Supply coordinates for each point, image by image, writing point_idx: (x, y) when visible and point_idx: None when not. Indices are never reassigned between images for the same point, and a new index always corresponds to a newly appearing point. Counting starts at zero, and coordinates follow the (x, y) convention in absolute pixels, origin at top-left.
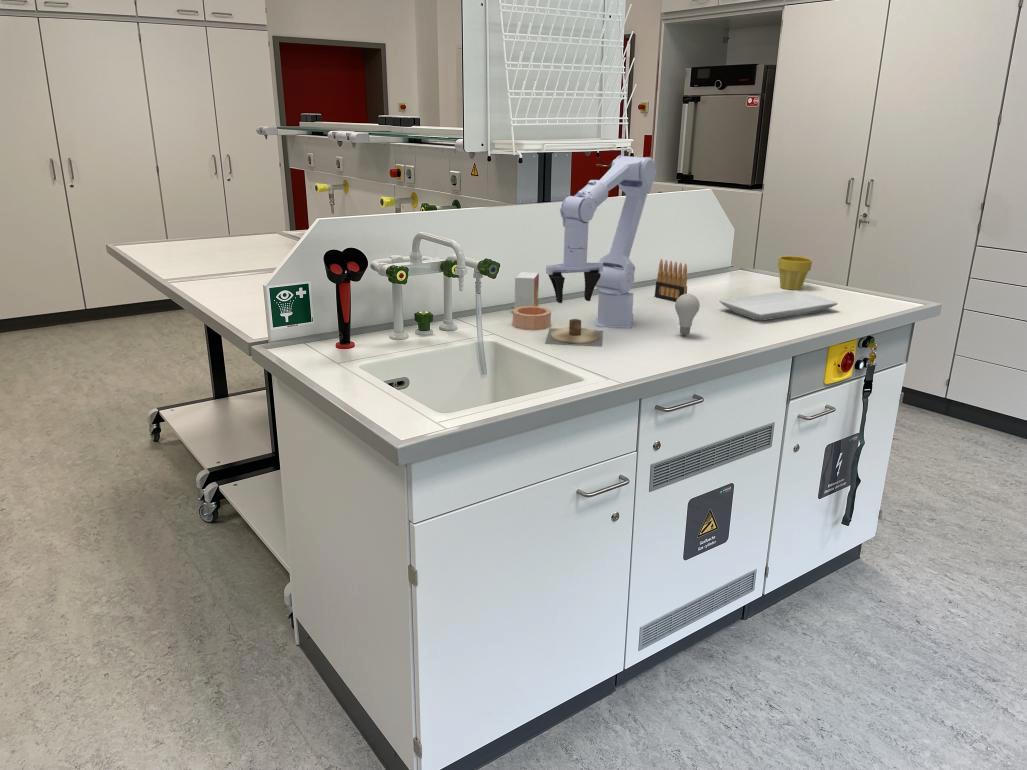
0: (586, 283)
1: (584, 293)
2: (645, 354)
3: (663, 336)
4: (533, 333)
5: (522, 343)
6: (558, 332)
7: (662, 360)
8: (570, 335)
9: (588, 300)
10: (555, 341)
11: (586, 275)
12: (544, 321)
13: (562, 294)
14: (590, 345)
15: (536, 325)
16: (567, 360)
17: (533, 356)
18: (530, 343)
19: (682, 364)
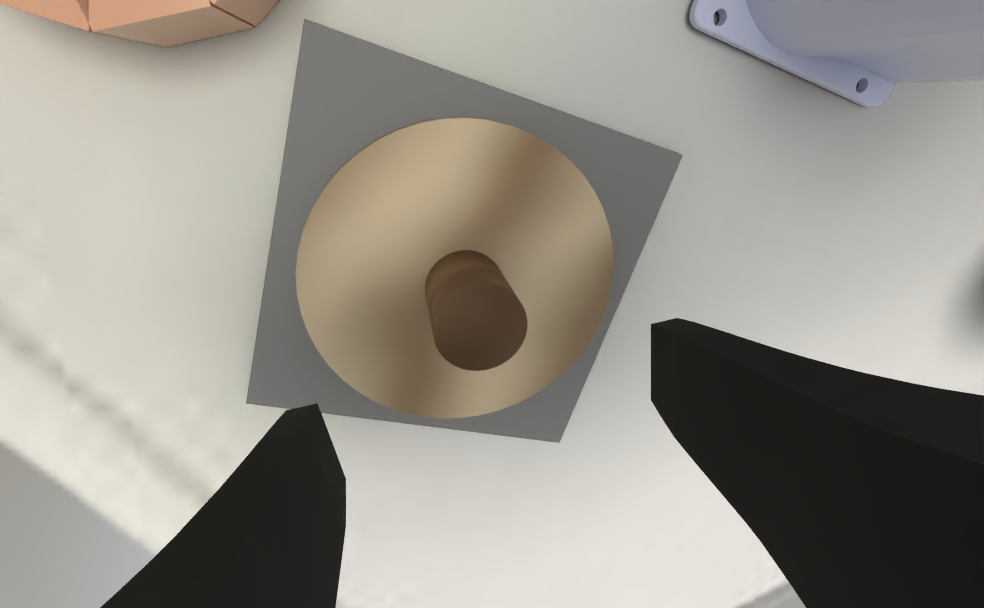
0: (814, 465)
1: (692, 340)
2: (694, 508)
3: (917, 274)
4: (156, 128)
5: (83, 368)
6: (355, 244)
7: (714, 559)
8: (428, 317)
9: (660, 405)
10: (320, 363)
11: (980, 592)
12: (235, 17)
13: (334, 595)
14: (507, 429)
15: (160, 38)
16: (350, 593)
17: None
18: (145, 369)
19: (751, 585)
